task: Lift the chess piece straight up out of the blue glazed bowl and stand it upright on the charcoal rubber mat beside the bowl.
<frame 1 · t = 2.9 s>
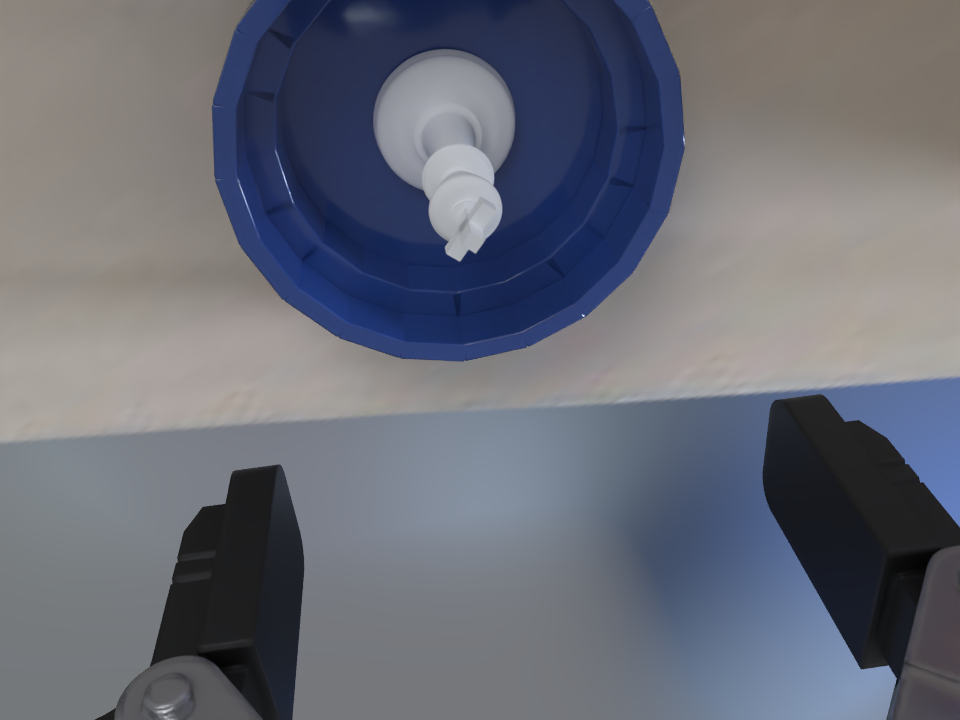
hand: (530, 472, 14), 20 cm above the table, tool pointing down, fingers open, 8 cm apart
bowl: (443, 118, 31), on the table
chess piece: (444, 120, 31), resting on bowl
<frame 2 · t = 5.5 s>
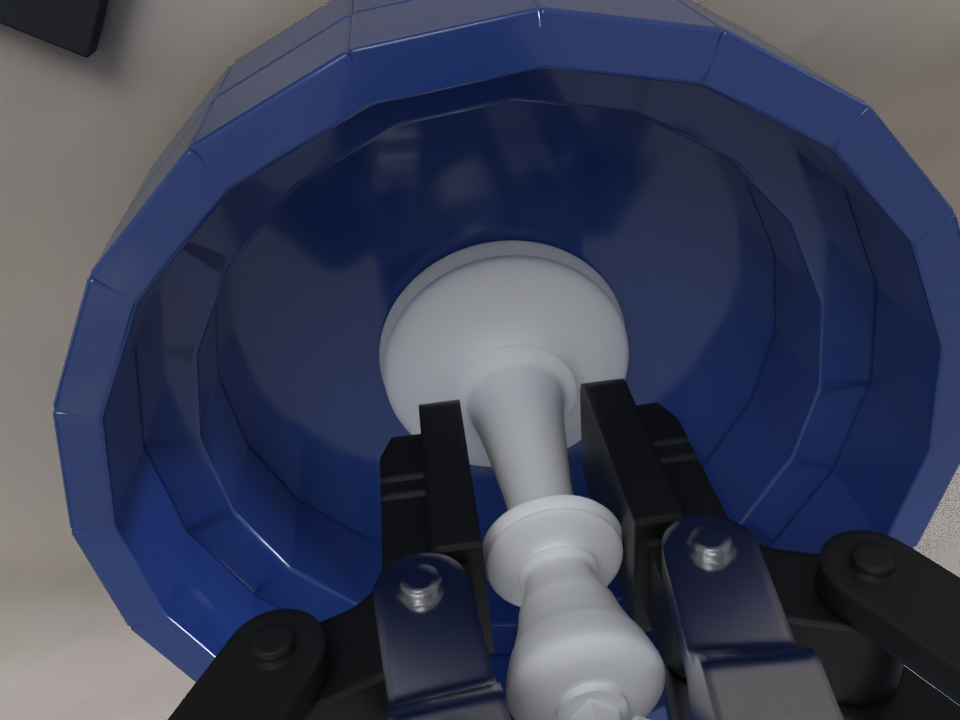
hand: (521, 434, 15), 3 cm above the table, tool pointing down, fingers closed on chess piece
bowl: (501, 342, 18), on the table
chess piece: (502, 347, 18), resting on bowl, touching gripper
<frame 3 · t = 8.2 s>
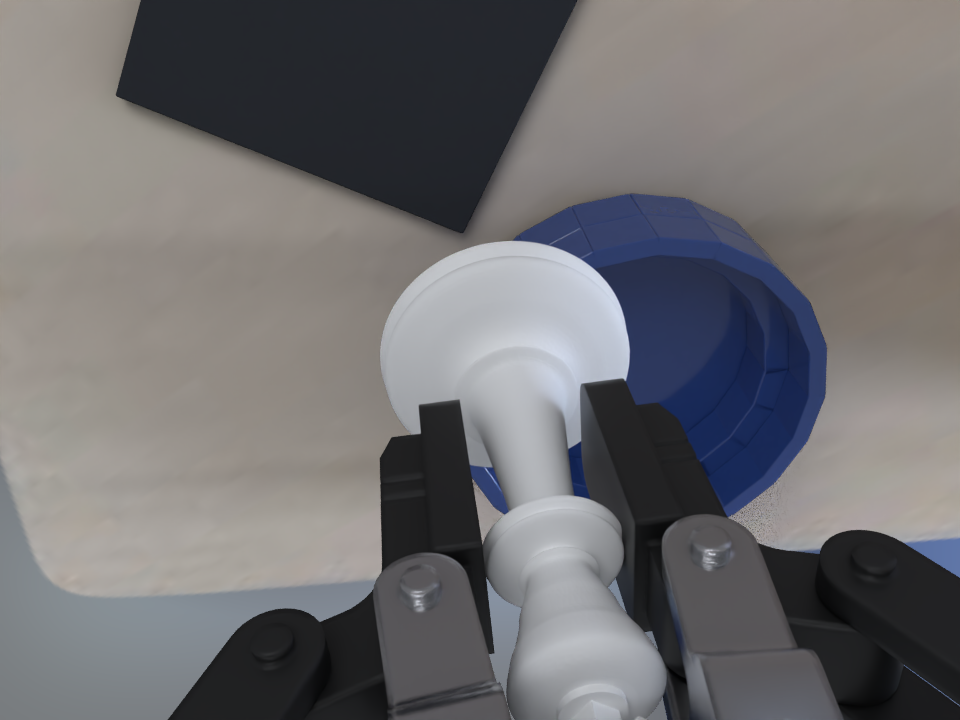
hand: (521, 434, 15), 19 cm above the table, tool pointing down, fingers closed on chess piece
bowl: (616, 350, 38), on the table
chess piece: (502, 347, 18), point 17 cm above the table, touching gripper
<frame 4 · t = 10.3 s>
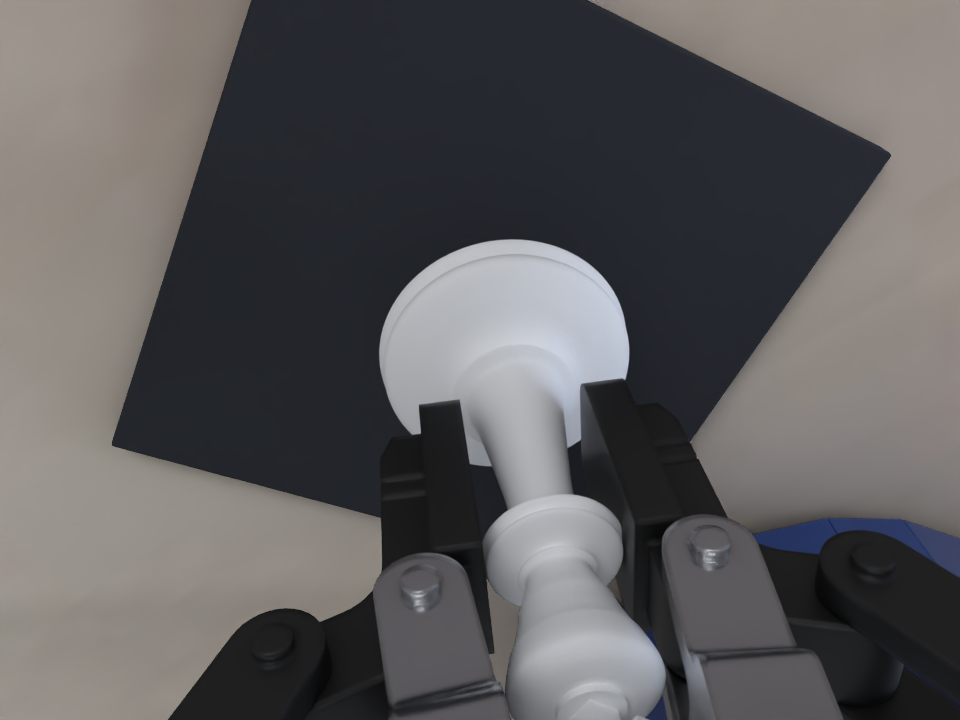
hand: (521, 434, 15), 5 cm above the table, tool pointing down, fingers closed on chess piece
mat: (481, 296, 20), on the table
bowl: (781, 677, 29), on the table
chess piece: (502, 346, 18), point 2 cm above the table, touching gripper
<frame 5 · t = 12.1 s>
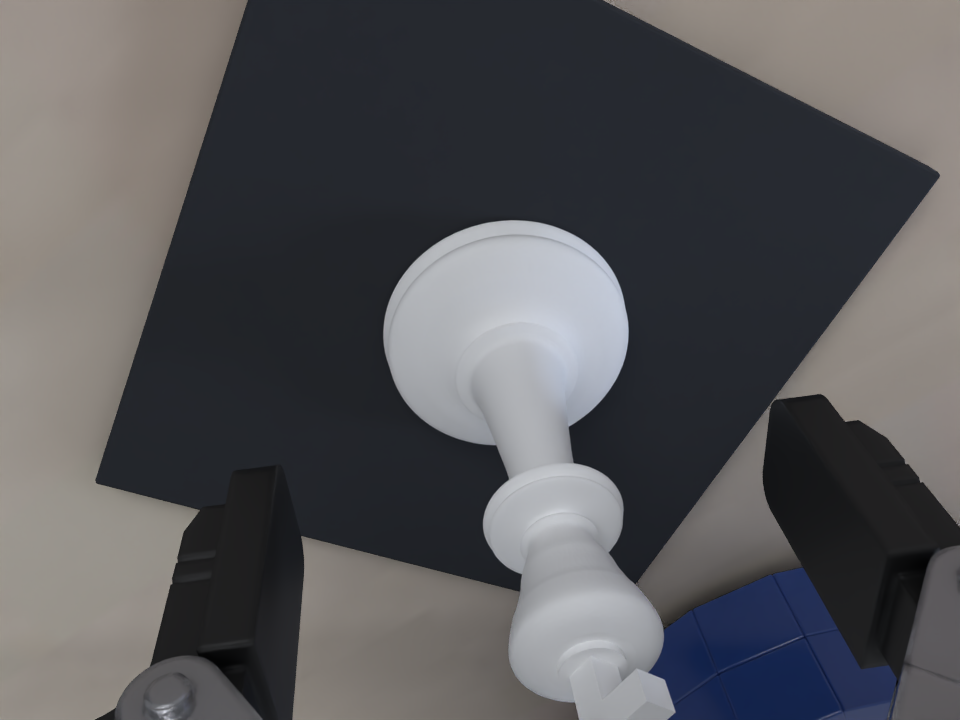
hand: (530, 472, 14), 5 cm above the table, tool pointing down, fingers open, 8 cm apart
mat: (494, 324, 18), on the table
bowl: (804, 717, 27), on the table
chess piece: (503, 326, 18), resting on mat
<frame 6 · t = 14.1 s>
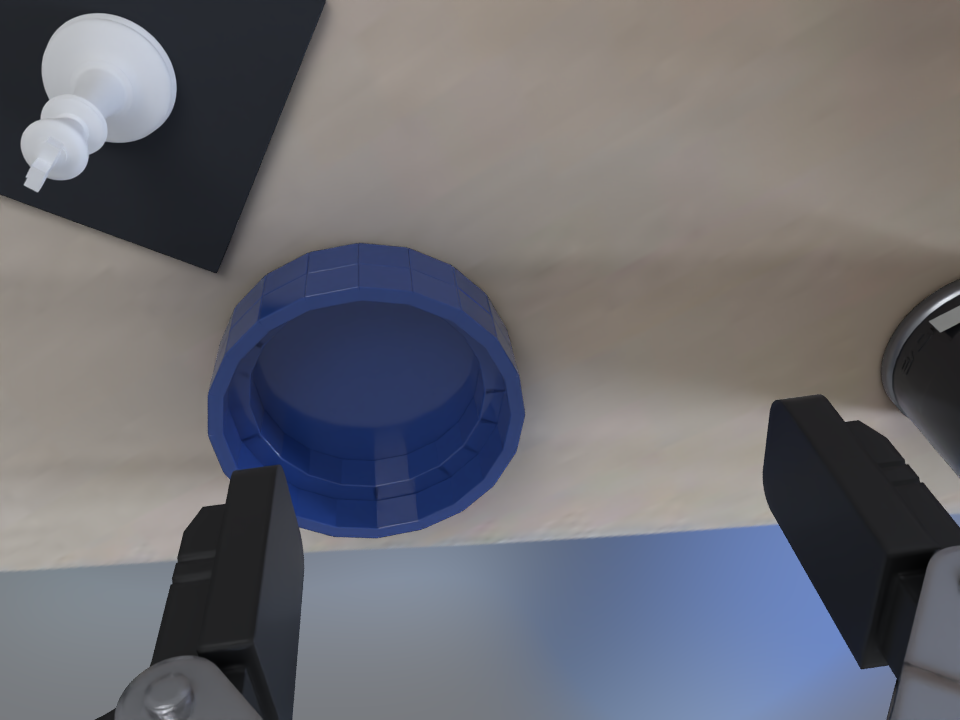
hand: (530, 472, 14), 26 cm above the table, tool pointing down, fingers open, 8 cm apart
mat: (111, 77, 35), on the table
bowl: (368, 370, 44), on the table
chess piece: (112, 77, 35), resting on mat
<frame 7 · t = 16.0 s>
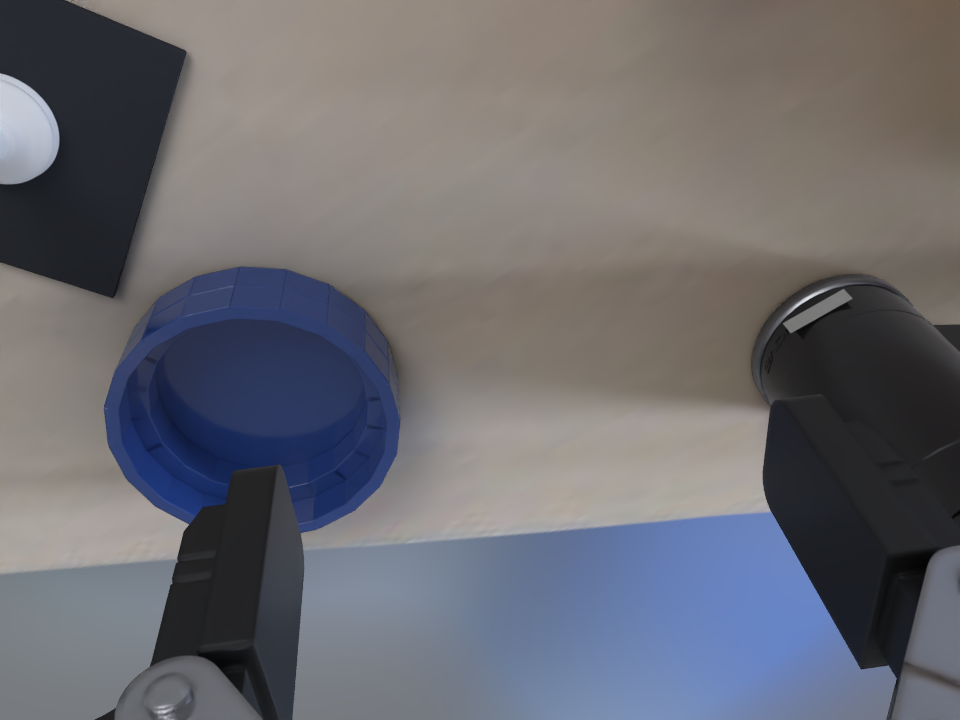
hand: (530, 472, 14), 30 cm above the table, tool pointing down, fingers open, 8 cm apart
mat: (1, 127, 40), on the table
bowl: (264, 382, 48), on the table
chess piece: (2, 126, 39), resting on mat
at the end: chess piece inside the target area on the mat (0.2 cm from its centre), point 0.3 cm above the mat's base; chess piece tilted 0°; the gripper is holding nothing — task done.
